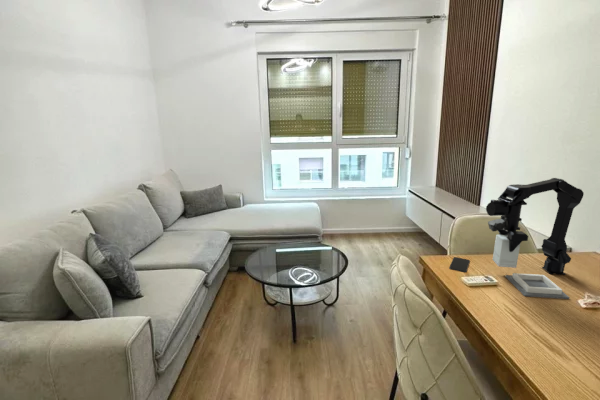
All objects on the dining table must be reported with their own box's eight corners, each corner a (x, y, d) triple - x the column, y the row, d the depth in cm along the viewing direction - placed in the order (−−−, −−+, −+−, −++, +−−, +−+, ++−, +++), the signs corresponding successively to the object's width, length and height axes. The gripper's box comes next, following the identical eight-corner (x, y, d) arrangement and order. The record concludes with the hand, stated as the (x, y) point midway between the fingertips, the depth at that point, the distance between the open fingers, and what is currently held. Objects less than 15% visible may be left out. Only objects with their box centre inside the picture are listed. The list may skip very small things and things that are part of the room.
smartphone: (453, 257, 161) (448, 269, 149) (453, 256, 161) (448, 267, 149) (470, 261, 157) (466, 273, 145) (470, 259, 157) (466, 271, 145)
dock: (544, 278, 139) (545, 273, 138) (569, 299, 123) (570, 292, 123) (505, 276, 141) (506, 270, 140) (524, 296, 126) (525, 289, 125)
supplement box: (516, 268, 137) (521, 241, 134) (498, 266, 139) (502, 240, 136) (509, 260, 144) (514, 234, 141) (491, 259, 146) (495, 233, 143)
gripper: (483, 208, 146) (478, 239, 150) (501, 220, 128) (496, 256, 132) (509, 208, 144) (504, 240, 148) (531, 221, 126) (525, 257, 130)
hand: (506, 248), depth 140 cm, fingers closed on supplement box, 7 cm apart
